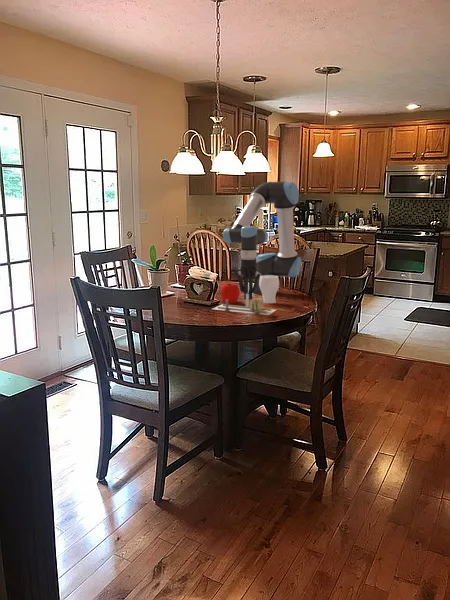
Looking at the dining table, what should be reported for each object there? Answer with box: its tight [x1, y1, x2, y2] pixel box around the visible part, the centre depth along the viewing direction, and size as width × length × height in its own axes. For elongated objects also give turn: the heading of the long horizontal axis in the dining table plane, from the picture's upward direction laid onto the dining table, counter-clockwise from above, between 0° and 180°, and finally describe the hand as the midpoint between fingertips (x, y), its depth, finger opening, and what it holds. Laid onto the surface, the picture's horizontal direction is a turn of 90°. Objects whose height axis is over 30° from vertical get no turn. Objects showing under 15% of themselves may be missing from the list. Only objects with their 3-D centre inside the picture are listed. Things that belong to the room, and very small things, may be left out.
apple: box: [220, 282, 240, 305], centre depth 266 cm, size 10×10×12 cm
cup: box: [259, 275, 280, 304], centre depth 267 cm, size 11×11×15 cm
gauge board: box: [212, 300, 277, 316], centre depth 250 cm, size 12×30×7 cm, turn 65°
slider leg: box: [249, 297, 264, 312], centre depth 246 cm, size 8×5×6 cm, turn 155°
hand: (248, 306), depth 249 cm, fingers closed
